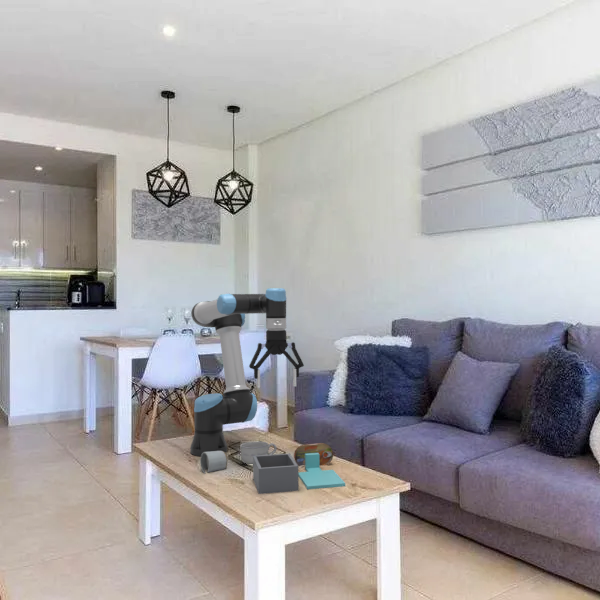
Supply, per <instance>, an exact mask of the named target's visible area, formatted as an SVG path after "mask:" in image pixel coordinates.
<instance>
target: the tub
mask: <svg viewBox="0 0 600 600" xmlns="http://www.w3.org/2000/svg"><path fill="white" fill-rule="evenodd" d="M298 472H299V465H298V464H297V463H296V462H295V460H294V456H292V455H291V453H278V454H277V453H274V454H273V455H259V456H253V466H252V480H253V482H254V485H255V488H256V490H257V493H258V494H259V495H261V494H264V495H265V494H274V493H275V494H276V493H288V492H290V493H291V492H299V487H300V486H299V476H298Z"/></svg>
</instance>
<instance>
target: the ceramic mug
mask: <svg viewBox="0 0 600 600" xmlns="http://www.w3.org/2000/svg"><path fill="white" fill-rule="evenodd" d="M228 461H229V459H228V456H227V454H226V453H225V452H223V451H211V452H203V453H202V455H201V456H200V461H199V462H200V463H199V464H200V468H201V471H202V473H203V474H206V473H211V472H216V471H222V470H226V468H227V467H228ZM206 470H207V472H206Z"/></svg>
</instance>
